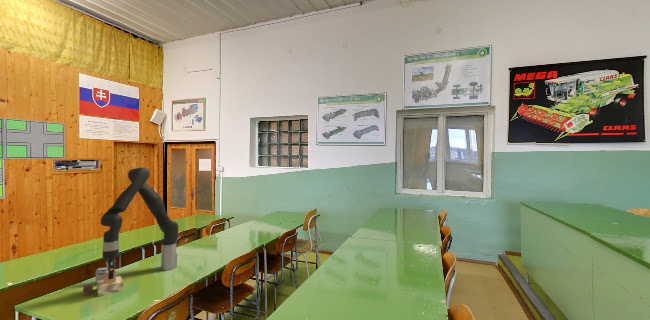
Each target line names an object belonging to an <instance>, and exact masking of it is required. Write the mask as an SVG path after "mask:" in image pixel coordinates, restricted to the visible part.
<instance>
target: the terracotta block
mask: <svg viewBox="0 0 650 320" xmlns="http://www.w3.org/2000/svg"><path fill="white" fill-rule="evenodd" d="M111 270H113V269H111ZM114 270H115V271H114V277H113V279H108V276H109V273H108V270H106V271H104V283H105V284H108V283H112V282H116V277H117V270H116V268H114Z"/></svg>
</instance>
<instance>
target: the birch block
mask: <svg viewBox="0 0 650 320" xmlns="http://www.w3.org/2000/svg"><path fill="white" fill-rule="evenodd" d="M122 291H124V281H123V279H122V275H116V282H112V283H108V284H105V283H104V279H103V280H99V281H97V284H96V292H97V297H98V298H99V297H103V296H107V295H111V294H114V293H118V292H122Z"/></svg>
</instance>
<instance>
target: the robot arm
mask: <svg viewBox="0 0 650 320" xmlns="http://www.w3.org/2000/svg"><path fill="white" fill-rule="evenodd" d="M150 175H151V173H150V170H149V169H148V168H146V167H136V168H132V169H130V170H129V171H128V172H127V177H128V180H129V181H130V182H131V183H130V184H129V186H127V188H125V190H123V192H121V193H120V194H119V196H117V198H116V200H115V201H114V202H113V205H112V206H111V207H110V208H108V209H107V211H106V212H105V213H103V215H102V216H101V218H100V224H101V226H103V227H109V229H108V230H106V231H104V233H103V237H102V238H103V239H102V240H103V241H102V242H103V243H102V255H101V256H102V259H105V265H106V267H107V270H108V273H109V276H108V279H113V277H114V271H115V270H116V268H115V267H116V259H115V258H117V257H118V256H119V255H120V242H119V241H120V239H119V238H120V237H119V236H120V234H119V233H120V231H121V229H122V225H123V218H122V216H121V215H120V214H121V213H124V212H126V210H127V208H128V207H129V205H130V204H131V202H132V200H133V198H135V196H136V194H137V193H139V195H140V197H141V198H142V200H143V201H144V203H145V205H146V207H147V208H148V210H149V211H150V213H151V214H152V215H153V217H154V218H155V220H156V222H157V224H158V227H159V229H160V231H161V232H162V233H164V234H163V239H162V240H161V242H160V243H161V246H160V247H161V249H160V250H161V252H160V253H161V254H160V256H161V257H160V270H161V271H169V270H174V269H175V268H177V267H178V253H177V242H178V238H179V224H178V222H177V221H174V220H172V219H171V218H170V217H169V215H168V214H167V212H166V207H165V203H164V200H163V199H162V198H161V195H159V193H158V192H156V190H154V189H153V188H152V187H150V185H149V184H148V183H147V181H148V180H149V178H150ZM111 269H113V270H111ZM114 269H115V270H114Z"/></svg>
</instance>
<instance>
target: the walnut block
mask: <svg viewBox="0 0 650 320" xmlns="http://www.w3.org/2000/svg"><path fill="white" fill-rule="evenodd" d="M93 289H94V285H93V283H88V284H83V286H82V293H83V294H82V295H83V296H86V295H90V294H93V292H94V290H93Z"/></svg>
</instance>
